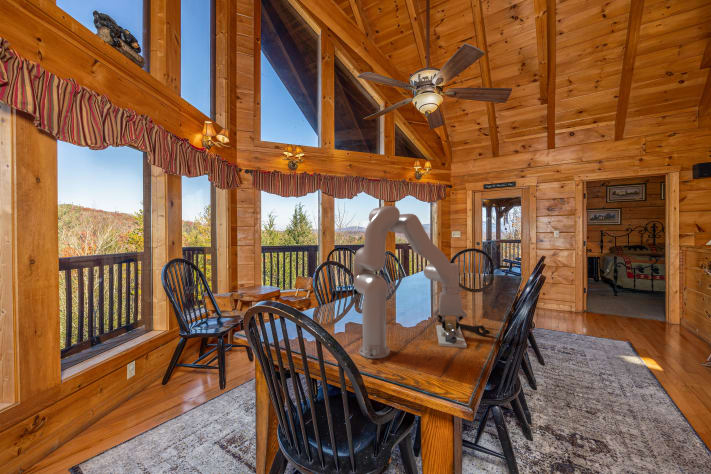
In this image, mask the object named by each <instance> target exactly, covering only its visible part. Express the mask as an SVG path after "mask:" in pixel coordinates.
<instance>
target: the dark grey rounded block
mask: <svg viewBox="0 0 711 474" xmlns="http://www.w3.org/2000/svg"><path fill="white" fill-rule="evenodd" d="M457 335H458V332H457V331H456V330H455V329H452V330H451V331H450V332H449V333H448V334H446V337H445V342H449V343H452V344H455V343H456V342H457V338H456V336H457Z"/></svg>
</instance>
